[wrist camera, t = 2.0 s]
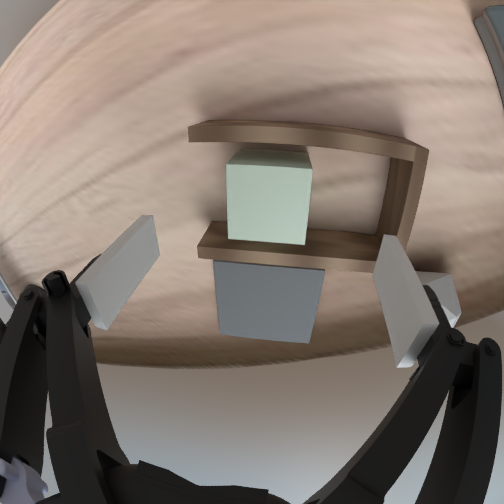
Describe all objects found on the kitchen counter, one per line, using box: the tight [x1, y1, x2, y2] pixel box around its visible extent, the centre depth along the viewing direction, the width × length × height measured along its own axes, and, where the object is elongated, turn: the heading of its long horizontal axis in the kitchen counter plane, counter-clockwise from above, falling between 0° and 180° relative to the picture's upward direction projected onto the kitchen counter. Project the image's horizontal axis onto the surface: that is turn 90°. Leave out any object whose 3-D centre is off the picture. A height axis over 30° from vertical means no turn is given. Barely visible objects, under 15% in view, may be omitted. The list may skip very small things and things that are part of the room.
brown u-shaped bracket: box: [188, 120, 429, 273], centre depth 22 cm, size 18×11×5 cm, turn 90°
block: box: [226, 149, 313, 245], centre depth 22 cm, size 6×6×6 cm
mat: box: [213, 260, 325, 343], centre depth 33 cm, size 12×12×1 cm
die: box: [415, 271, 461, 328], centre depth 25 cm, size 8×9×10 cm
